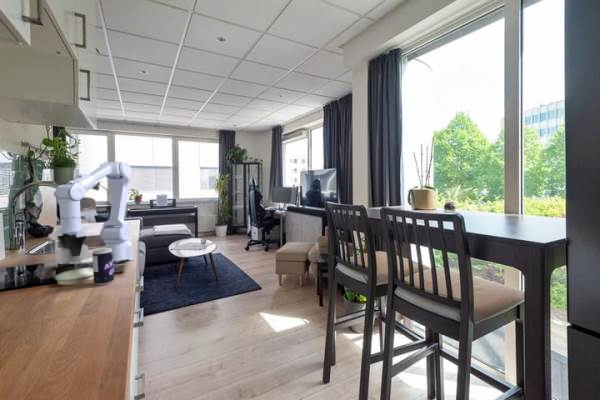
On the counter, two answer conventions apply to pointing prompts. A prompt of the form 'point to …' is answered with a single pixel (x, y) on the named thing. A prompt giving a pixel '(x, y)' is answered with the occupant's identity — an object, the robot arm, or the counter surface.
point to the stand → (75, 276)
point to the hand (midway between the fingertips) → (72, 254)
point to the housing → (70, 255)
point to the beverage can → (103, 265)
